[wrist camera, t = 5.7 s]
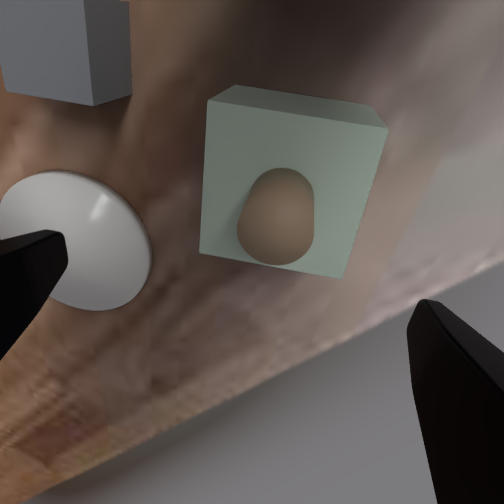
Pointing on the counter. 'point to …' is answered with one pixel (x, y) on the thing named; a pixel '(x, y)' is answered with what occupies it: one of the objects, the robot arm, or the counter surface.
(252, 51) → the counter surface
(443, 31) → the counter surface
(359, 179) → the sage camera
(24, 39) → the slate cube
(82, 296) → the saucer
